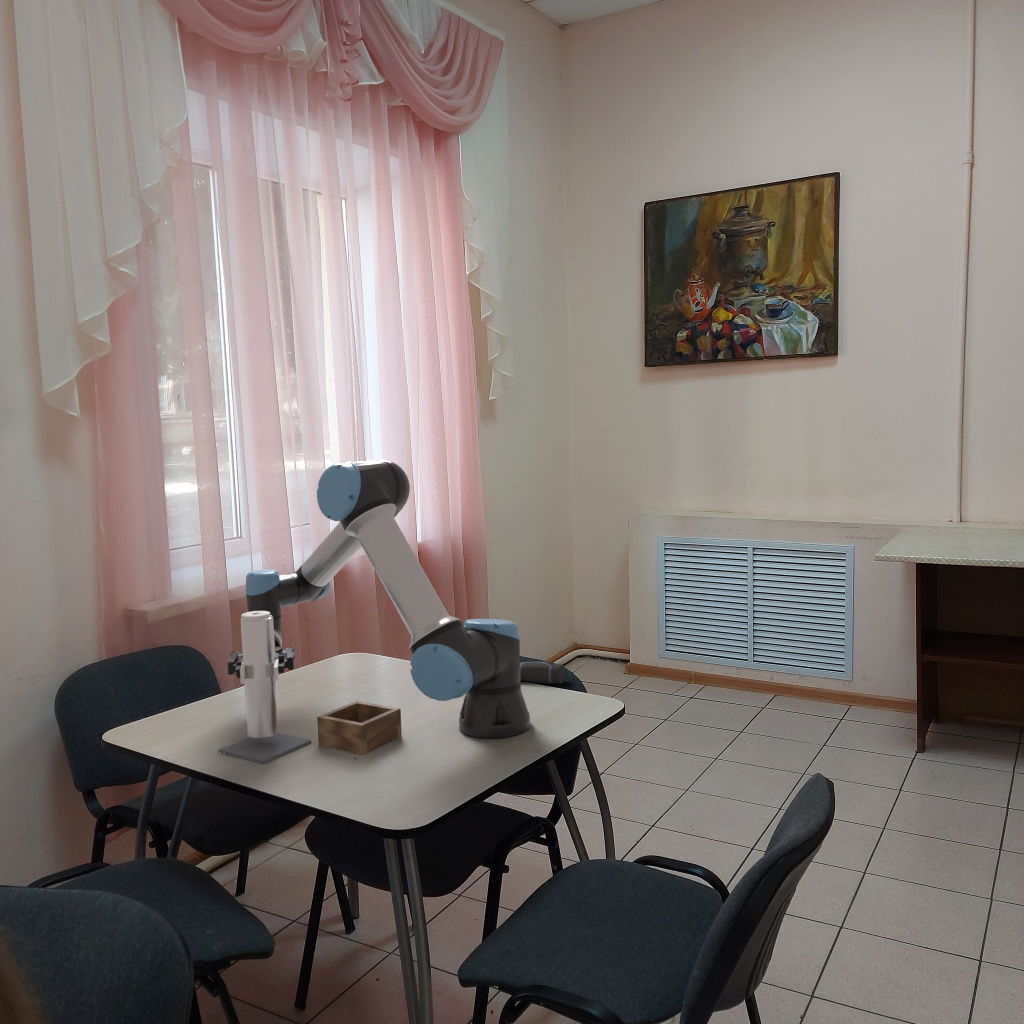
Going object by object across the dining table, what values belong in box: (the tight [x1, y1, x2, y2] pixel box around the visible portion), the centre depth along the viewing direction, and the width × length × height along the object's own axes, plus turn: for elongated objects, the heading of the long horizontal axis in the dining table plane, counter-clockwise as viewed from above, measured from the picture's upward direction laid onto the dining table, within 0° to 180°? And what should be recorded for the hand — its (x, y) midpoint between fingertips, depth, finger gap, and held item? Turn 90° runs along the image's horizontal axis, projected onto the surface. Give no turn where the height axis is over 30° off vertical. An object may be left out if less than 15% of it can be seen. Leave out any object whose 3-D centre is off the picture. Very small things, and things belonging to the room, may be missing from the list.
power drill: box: [520, 661, 566, 685], centre depth 227 cm, size 5×19×20 cm
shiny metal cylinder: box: [239, 611, 281, 739], centre depth 186 cm, size 6×6×25 cm
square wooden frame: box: [316, 700, 403, 756], centre depth 189 cm, size 12×12×6 cm
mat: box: [217, 732, 312, 764], centre depth 187 cm, size 13×13×1 cm
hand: (259, 675), depth 180 cm, fingers closed on shiny metal cylinder, 6 cm apart
